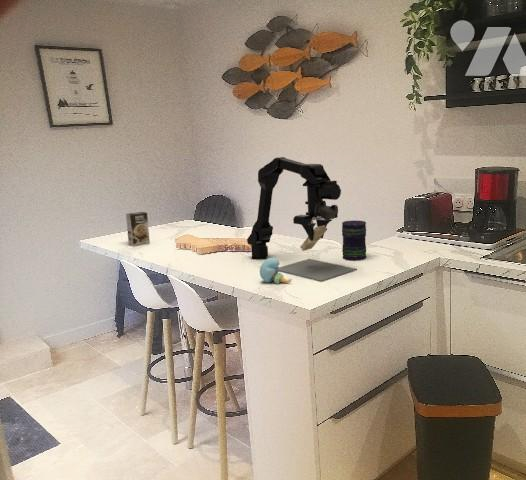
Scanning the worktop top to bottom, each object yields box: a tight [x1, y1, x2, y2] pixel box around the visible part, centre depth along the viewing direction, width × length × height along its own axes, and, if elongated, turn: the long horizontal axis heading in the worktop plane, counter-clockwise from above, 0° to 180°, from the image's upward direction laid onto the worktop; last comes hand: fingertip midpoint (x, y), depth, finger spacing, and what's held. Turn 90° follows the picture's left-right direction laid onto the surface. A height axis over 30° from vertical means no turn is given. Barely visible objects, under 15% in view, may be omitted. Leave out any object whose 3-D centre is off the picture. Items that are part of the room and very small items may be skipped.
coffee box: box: [125, 211, 151, 247], centre depth 259 cm, size 9×6×16 cm
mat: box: [278, 258, 358, 283], centre depth 197 cm, size 25×20×1 cm
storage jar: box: [341, 219, 367, 262], centre depth 210 cm, size 10×10×15 cm
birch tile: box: [299, 225, 328, 252], centre depth 194 cm, size 2×5×12 cm
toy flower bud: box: [259, 257, 292, 285], centre depth 182 cm, size 7×9×12 cm
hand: (316, 239), depth 193 cm, fingers closed on birch tile, 5 cm apart
